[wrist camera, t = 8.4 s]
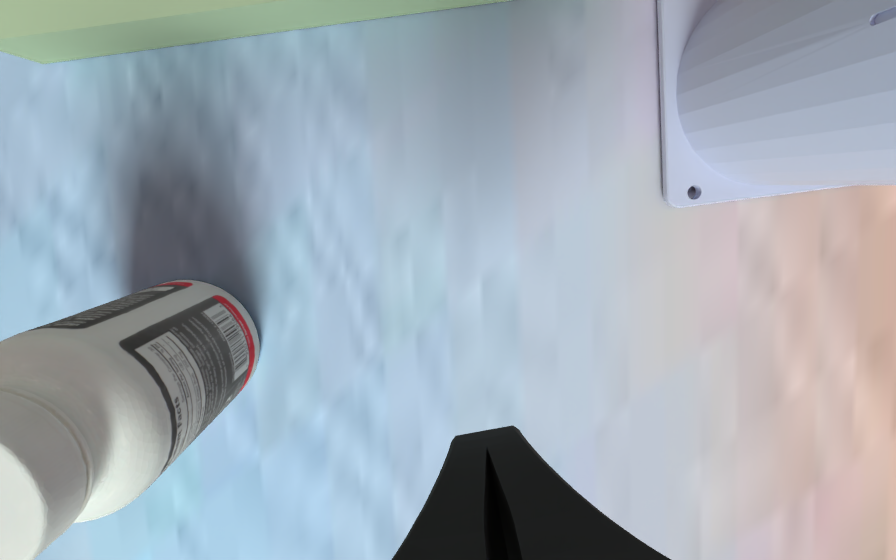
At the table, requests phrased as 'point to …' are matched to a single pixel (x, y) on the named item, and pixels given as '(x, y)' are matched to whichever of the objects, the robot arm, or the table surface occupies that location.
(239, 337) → the pill bottle
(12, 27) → the putting mat
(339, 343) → the table surface
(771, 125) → the robot arm
